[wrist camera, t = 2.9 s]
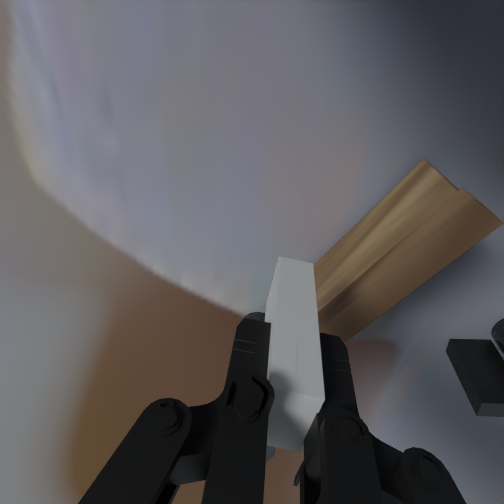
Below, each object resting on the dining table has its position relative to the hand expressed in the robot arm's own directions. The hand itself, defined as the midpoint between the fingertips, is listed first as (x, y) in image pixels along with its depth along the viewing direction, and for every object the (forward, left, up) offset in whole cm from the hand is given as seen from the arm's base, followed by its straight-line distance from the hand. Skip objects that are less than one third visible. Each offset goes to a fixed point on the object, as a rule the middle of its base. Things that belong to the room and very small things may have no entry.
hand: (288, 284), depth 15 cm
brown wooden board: (+5, +3, -10) cm, 11 cm away
